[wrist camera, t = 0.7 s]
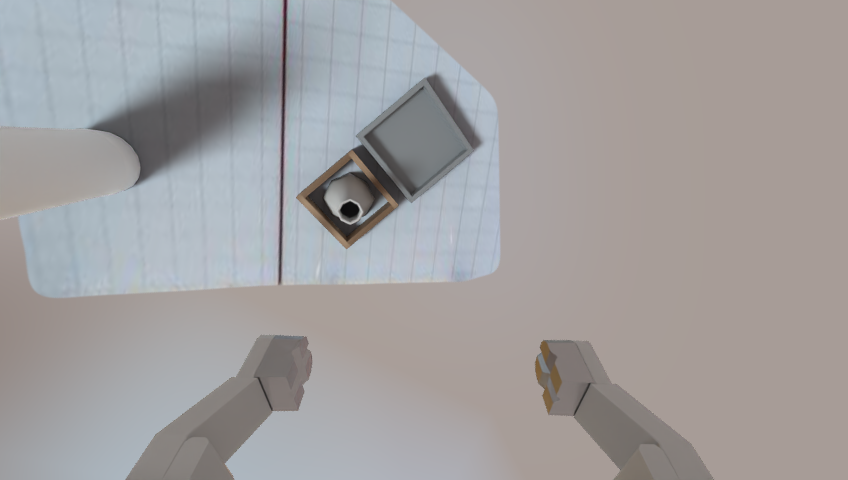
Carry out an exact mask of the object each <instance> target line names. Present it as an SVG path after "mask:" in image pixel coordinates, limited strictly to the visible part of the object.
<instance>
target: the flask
mask: <svg viewBox="0 0 848 480" xmlns="http://www.w3.org/2000/svg"><path fill="white" fill-rule="evenodd" d="M323 199H324V201H325V203H326V205H327V207H328V209H329V210H330V212H331V214H332V215H333V216H336V217H338V218H340V220H341V221H343V222H345V223H347V224H349V225H351V224H353V223H355V222H357V221H359V220H360V218H361V217H363V216H365V215H366V214H367V212H368V210H369V208H370V207H371V205H372V203H373V201H374V197H373V195H372V193H371V191H370V189H369V187H368V184H367V182H365V181H363V180H362V179H360V178H358V177H356V176H354V175H352V174H350V173H347V174H345V175H343V176H341V177H339V178H336V179H334V180H332V181H331V182H330V184H329V186H328V188H327V190H326V192H325V194H324V196H323Z"/></svg>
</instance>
